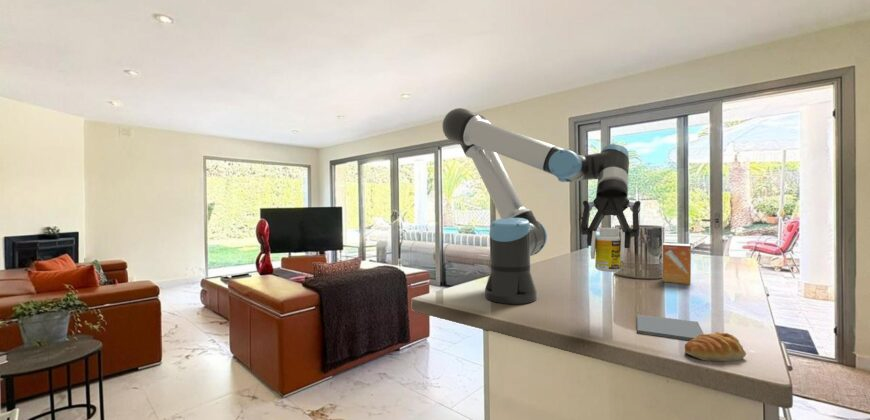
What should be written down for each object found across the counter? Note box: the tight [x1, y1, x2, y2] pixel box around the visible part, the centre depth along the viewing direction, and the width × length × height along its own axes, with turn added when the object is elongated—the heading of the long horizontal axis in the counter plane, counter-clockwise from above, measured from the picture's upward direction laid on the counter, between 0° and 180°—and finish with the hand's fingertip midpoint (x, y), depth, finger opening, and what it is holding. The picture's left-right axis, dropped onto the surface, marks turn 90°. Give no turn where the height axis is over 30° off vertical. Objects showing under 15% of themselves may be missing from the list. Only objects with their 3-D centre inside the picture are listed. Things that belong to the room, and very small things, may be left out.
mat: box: [636, 314, 705, 341], centre depth 79 cm, size 12×12×1 cm
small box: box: [662, 242, 692, 285], centre depth 124 cm, size 8×6×13 cm
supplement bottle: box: [594, 227, 622, 273], centre depth 87 cm, size 6×6×10 cm
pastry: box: [684, 331, 747, 362], centre depth 66 cm, size 9×7×4 cm
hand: (607, 256), depth 84 cm, fingers closed on supplement bottle, 5 cm apart
